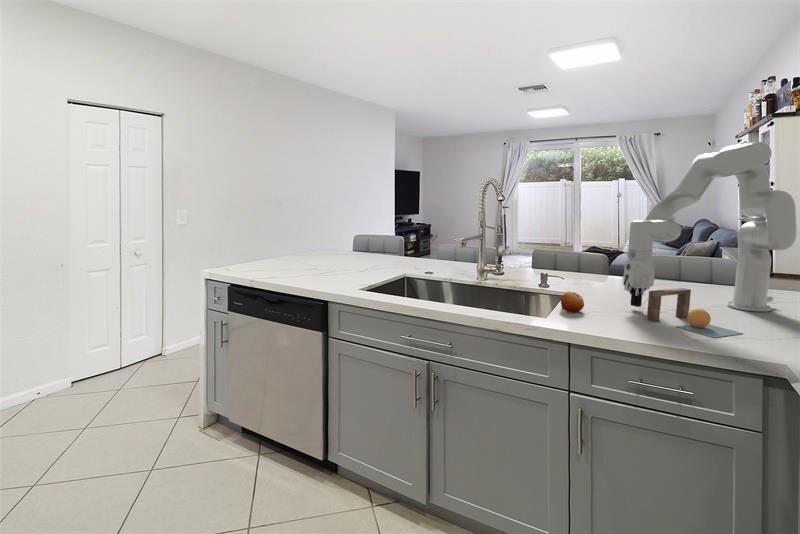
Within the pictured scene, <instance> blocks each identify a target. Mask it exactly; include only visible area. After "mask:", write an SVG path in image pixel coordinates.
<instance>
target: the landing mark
mask: <svg viewBox="0 0 800 534" xmlns="http://www.w3.org/2000/svg"><path fill="white" fill-rule="evenodd" d="M675 327H676V328H678V327H679V328H678V329H681V328H683V329H682V330H685V329H686V330H685V331H688V330H690V331H689V332H691V331H693V332H692V333H695V332H696V334H698V333H700V334H699V335H702V334H703V336H705V335H706V337H709V336H710V337H709V338H712V337H713V339H717V337H719V338H725V336H726V337H731V336H738V335H743V334H744V332H739V331H737V330H732V329H729V328H725V327H721V326H717V325H713V324H710V323H709V325H708V326H706V327H704V328H696V327H693V326H692V325H690V324H684V325H677V326H675Z"/></svg>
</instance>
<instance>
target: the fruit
mask: <svg viewBox="0 0 800 534" xmlns="http://www.w3.org/2000/svg"><path fill="white" fill-rule="evenodd" d="M560 305H561V310H559V311H561V312H562V311H566V312H569V313H572V314H576V313H579V312H580V311H582V310H583V308H584V307H585V301H584V298H583V297H582V295H580V294H578V293H577V292H575V291H566V292H564V294H563V295H562V296H561V297H560Z"/></svg>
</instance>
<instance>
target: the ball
mask: <svg viewBox="0 0 800 534" xmlns="http://www.w3.org/2000/svg"><path fill="white" fill-rule="evenodd" d="M686 319H687V322H688V324H689V325H692V326H693V327H696V328H704V327H706V326H708V325H709V324H710V323H711V321H712V320H711V315H710V313H709V311H706V310H705V309H703V308H693V309H691V310H689V314H688V317H687V318H686Z"/></svg>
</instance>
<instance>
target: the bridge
mask: <svg viewBox="0 0 800 534" xmlns="http://www.w3.org/2000/svg"><path fill="white" fill-rule="evenodd" d="M691 293H692V290H691V289H690V288H686V287H684V288H683V287H679V288H670V289H669V288H666V289H659V290H658V289H657V290H649V291H648V299H647V300H648V301H647V313H646V320H647V321H649V322H652V323H658V322H660V316H661V315H660V314H661V303H662V297H665V296H666V297H667V296H676V295H677V298H676V299H677V301H676V310H675V317H677V316H678V317H677V318H680V317H681V319H687V317H688V314H689V312H690V303H691Z"/></svg>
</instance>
